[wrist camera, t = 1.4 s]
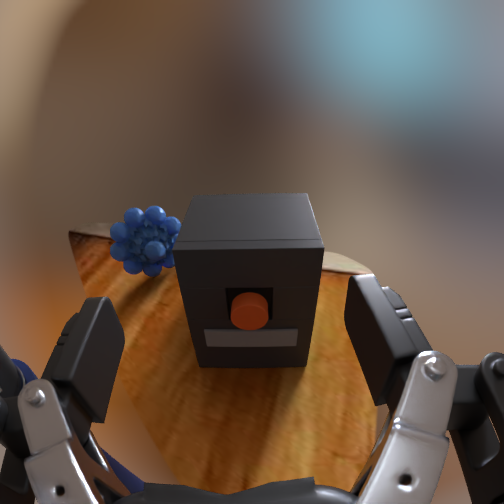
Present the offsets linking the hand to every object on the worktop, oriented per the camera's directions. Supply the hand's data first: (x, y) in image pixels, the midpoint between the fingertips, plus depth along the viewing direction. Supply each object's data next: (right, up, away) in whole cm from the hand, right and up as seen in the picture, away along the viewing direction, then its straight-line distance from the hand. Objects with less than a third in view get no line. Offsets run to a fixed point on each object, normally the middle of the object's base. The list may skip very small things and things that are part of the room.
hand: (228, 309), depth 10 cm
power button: (+1, -5, +18) cm, 19 cm away
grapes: (-13, -2, +37) cm, 40 cm away
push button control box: (+1, -8, +28) cm, 29 cm away
